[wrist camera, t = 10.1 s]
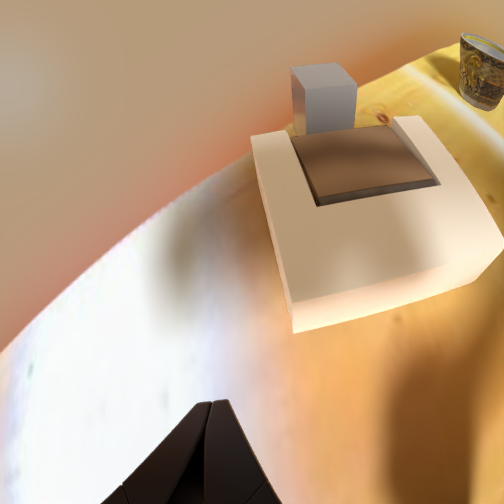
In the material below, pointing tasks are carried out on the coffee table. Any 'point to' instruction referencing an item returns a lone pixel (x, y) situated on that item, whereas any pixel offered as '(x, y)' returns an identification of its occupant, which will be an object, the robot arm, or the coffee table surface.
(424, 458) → the coffee table surface
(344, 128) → the stone
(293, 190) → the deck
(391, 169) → the trapdoor
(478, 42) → the ceramic cup
